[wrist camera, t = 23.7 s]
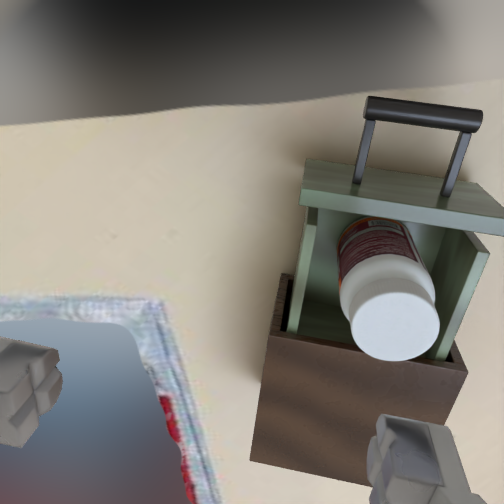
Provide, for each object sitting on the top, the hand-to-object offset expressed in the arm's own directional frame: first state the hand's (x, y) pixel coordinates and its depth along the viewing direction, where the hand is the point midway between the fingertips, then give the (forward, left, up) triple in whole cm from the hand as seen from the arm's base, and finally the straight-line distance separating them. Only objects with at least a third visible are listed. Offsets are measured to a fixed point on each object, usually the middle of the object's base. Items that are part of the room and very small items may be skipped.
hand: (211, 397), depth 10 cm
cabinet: (+19, +8, -27) cm, 34 cm away
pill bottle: (+6, +8, -25) cm, 27 cm away
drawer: (+4, +8, -26) cm, 28 cm away
